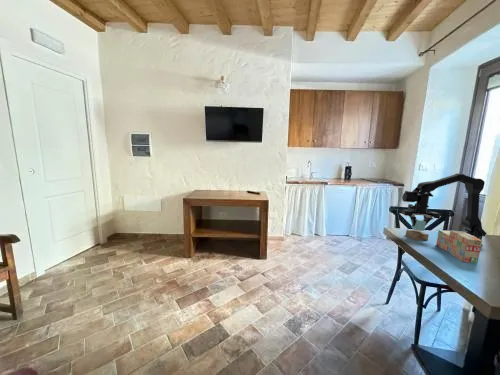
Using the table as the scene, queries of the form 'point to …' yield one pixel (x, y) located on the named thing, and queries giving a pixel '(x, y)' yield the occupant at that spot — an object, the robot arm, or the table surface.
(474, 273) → the table surface
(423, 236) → the walnut base block
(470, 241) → the stack of blocks
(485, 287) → the table surface
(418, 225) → the teal block
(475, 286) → the table surface
